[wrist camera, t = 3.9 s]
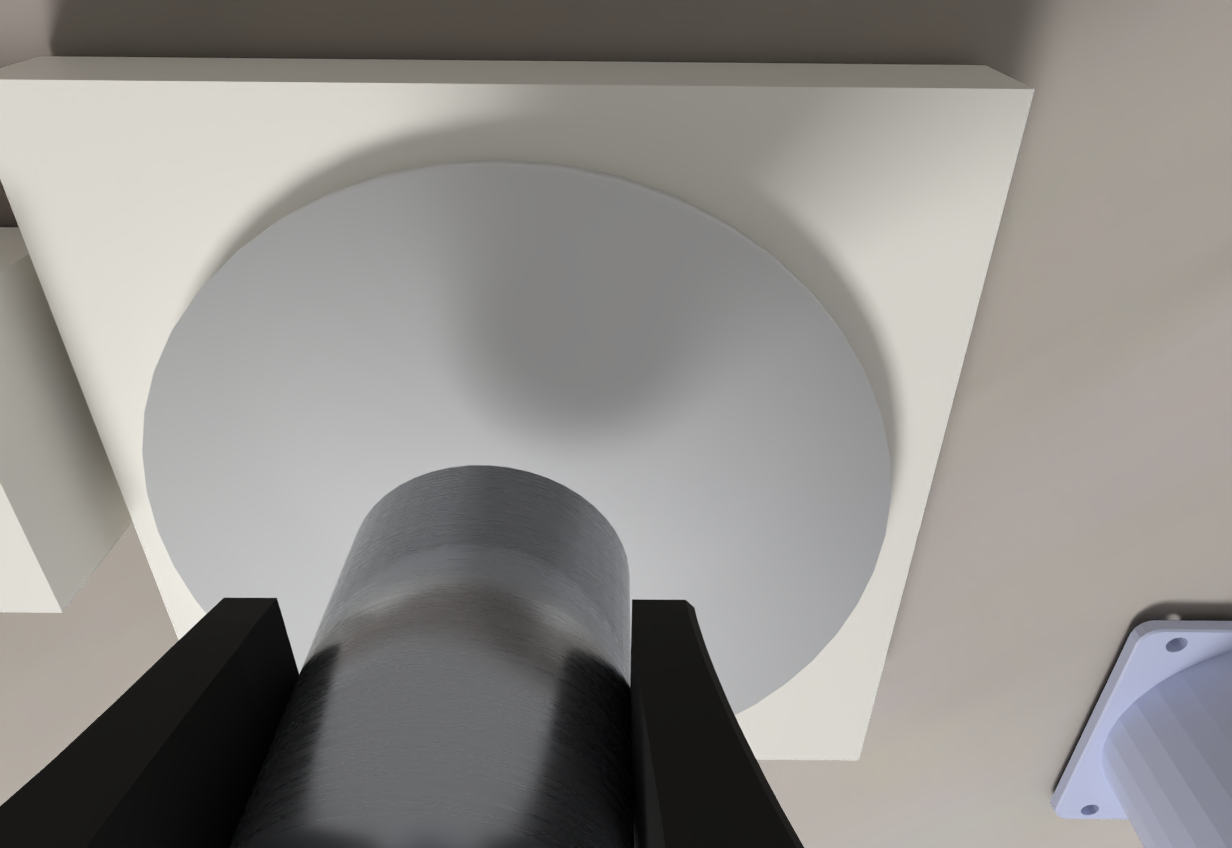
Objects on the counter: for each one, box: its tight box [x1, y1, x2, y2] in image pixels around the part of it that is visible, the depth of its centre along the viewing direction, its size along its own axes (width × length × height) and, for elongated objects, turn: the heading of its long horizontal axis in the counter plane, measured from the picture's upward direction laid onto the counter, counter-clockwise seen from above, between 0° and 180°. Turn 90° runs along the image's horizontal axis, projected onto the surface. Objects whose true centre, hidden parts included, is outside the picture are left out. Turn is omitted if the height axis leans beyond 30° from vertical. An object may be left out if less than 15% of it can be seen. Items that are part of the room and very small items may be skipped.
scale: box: [0, 56, 1035, 760], centre depth 17 cm, size 20×16×4 cm
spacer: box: [229, 465, 634, 848], centre depth 10 cm, size 4×4×5 cm
